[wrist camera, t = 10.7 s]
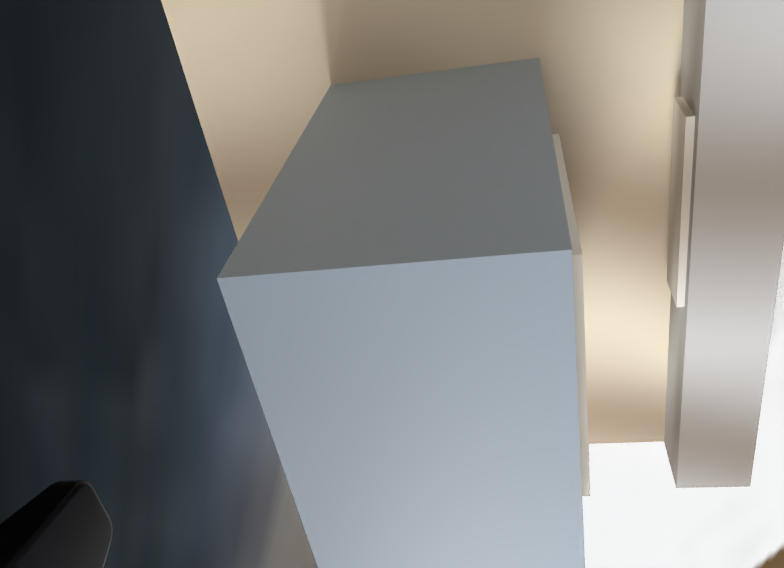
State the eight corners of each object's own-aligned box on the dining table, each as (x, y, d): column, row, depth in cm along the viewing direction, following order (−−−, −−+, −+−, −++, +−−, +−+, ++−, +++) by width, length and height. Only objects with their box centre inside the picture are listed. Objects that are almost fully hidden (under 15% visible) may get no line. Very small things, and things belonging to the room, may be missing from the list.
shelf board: (721, 410, 19) (750, 486, 17) (313, 426, 21) (293, 495, 19) (788, -253, 11) (853, -266, 9) (145, -126, 13) (81, -113, 11)
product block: (549, 55, 13) (591, 247, 8) (563, 319, 17) (599, 595, 11) (331, 84, 14) (216, 278, 8) (383, 330, 17) (326, 594, 12)
